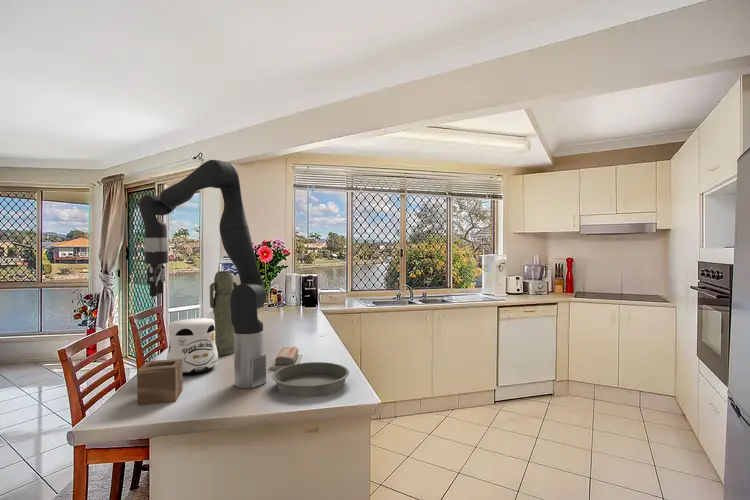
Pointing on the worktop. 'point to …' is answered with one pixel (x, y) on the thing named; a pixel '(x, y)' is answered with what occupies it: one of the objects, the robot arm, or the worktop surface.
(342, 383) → the cake pan
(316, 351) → the worktop surface
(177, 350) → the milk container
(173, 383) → the brown wooden box
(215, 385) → the worktop surface
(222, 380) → the worktop surface
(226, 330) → the thermos
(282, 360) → the packaged product
